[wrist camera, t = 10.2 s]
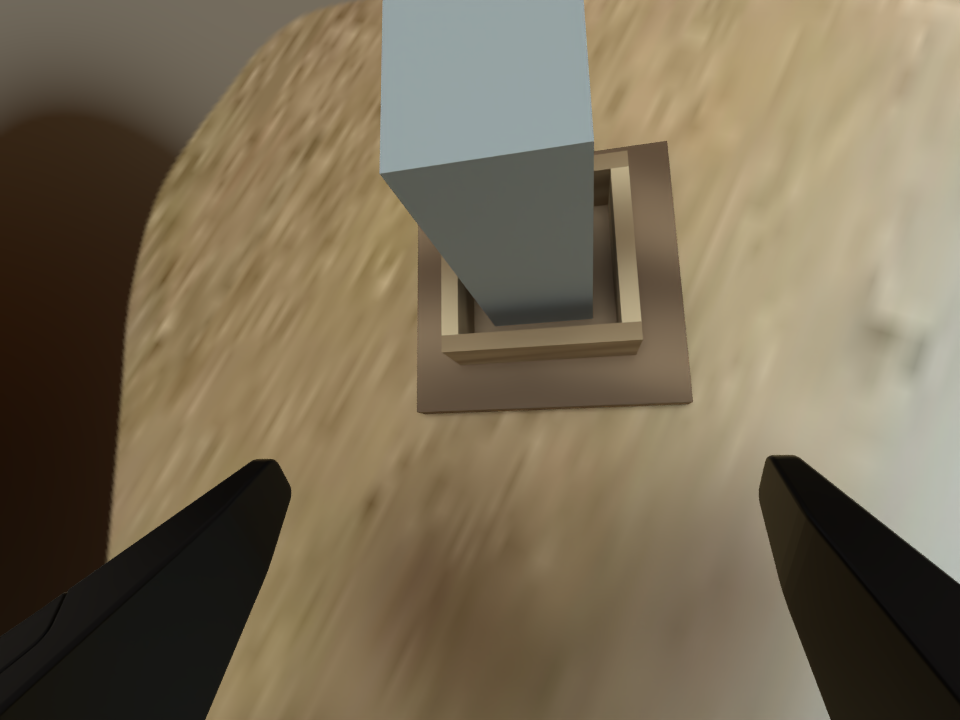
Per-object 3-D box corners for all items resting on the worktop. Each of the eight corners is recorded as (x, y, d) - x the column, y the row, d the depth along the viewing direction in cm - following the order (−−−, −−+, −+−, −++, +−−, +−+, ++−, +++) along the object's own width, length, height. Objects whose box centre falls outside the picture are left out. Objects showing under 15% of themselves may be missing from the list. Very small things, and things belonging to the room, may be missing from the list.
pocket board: (688, 403, 21) (709, 392, 18) (424, 413, 24) (392, 406, 20) (663, 153, 24) (677, 95, 20) (425, 186, 26) (396, 140, 22)
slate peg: (592, 318, 22) (593, 141, 9) (495, 326, 23) (379, 173, 10) (586, 226, 23) (579, -48, 10) (492, 237, 24) (382, -3, 11)
